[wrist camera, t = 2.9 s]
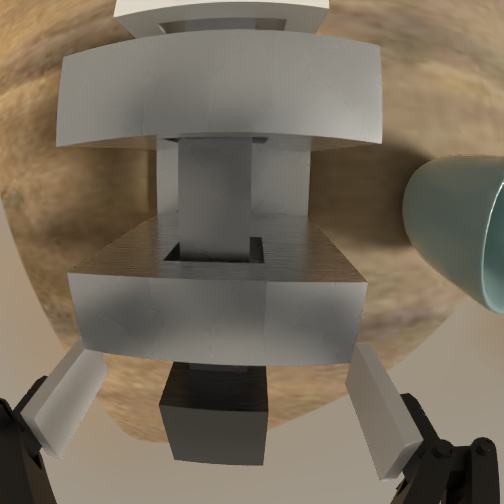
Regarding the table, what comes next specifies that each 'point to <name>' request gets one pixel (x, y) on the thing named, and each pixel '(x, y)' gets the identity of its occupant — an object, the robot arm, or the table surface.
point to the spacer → (218, 14)
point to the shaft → (215, 250)
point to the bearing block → (262, 193)
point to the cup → (460, 223)
